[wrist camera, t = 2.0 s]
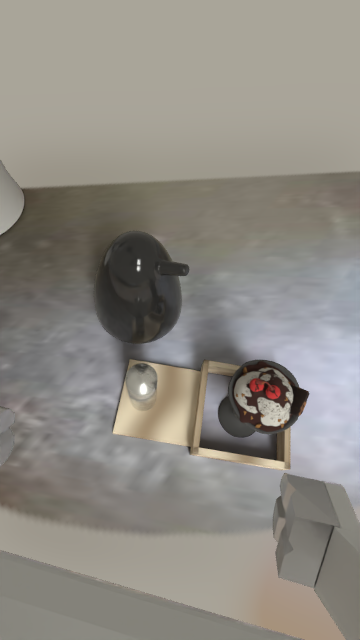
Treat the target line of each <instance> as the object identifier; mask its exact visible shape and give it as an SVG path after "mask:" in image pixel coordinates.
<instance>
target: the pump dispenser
mask: <svg viewBox="0 0 360 640" xmlns="http://www.w3.org/2000/svg"><path fill="white" fill-rule="evenodd" d="M188 273H189V266H188V265H187V264H182V263H177V262H173V261H172V259H171V257H170V255H169V254H168V252H167V250H166V249H165V248H164V246H163V245H162V244H161V243H160V242H159V241H158V240H157V239H156V238H154V237H153V236H151V235H150V234H147V233H145V232H141V231H129V232H126V233H123V234H121V235H120V236H118V237H117V238H116V239H114V240H113V241H112V242H111V244H110V245H109V246H108V248H107V249H106V251H105V253H104V254H103V256H102V259H101V261H100V263H99V266H98V269H97V273H96V277H95V284H94V303H95V310H96V314H97V317H98V320H99V322H100V323H101V325H102V327H103V328H104V329H105V330H106V331H107V332H108V333H109V334H110V335H112V336H113V337H115V338H117V339H119V340H121V341H124V342H128V343H133V344H144V343H149V342H152V341H155V340H157V339H160V338H161V337H163V336H165V335H166V334H167V333H168V332H170V331H171V330H172V328H173V327H174V326H175V324H176V323H177V321H178V319H179V316H180V313H181V307H182V294H181V286H180V281H179V277H178V276H186V275H187V274H188Z"/></svg>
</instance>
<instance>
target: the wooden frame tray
mask: <svg viewBox="0 0 360 640" xmlns="http://www.w3.org/2000/svg"><path fill="white" fill-rule="evenodd" d="M240 367H241V366H238V365H232V364H226V363H221V362H215V361H209V360H204V361H203V364H202V366H201V371H196V370H190V369H184V368H178V367H172V366H167V365H161V364H155V363H149V362H143V361H137V360H132V359H130V360H129V365H128V369H127V373H126V377H125V382H124V386H123V391H122V395H121V399H120V404H119V408H118V412H117V416H116V421H115V425H114V429H113V434H118V435H124V436H130V437H136V438H142V439H148V440H154V441H159V442H165V443H171V444H177V445H183V446H189V447H191V450H190V455H195V456H201V457H207V458H213V459H219V460H225V461H231V462H236V463H242V464H248V465H254V466H260V467H266V468H272V469H277V470H289V469H290V427H289V428H288V429H286V430H284V431H282V432H279V433H277V461H275V460H269V459H263V458H258V457H252V456H246V455H240V454H234V453H228V452H222V451H217V450H211V449H205V448H199V443H200V434H201V426H202V417H203V409H204V401H205V392H206V384H207V375H208V372H209V373H215V374H221V375H226V376H232V377H233V375H234V373H235V372H236V370H238V369H239V368H240Z"/></svg>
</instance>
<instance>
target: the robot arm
mask: <svg viewBox="0 0 360 640" xmlns="http://www.w3.org/2000/svg"><path fill="white" fill-rule="evenodd" d="M23 207H24V195H23V192H22V190H21V188H20V187H19V185H18V184H17V183H16V182H15V181H14V179H13V178H12V177H11V176H10V175H9V173H8V172H7V170H6V169H5V167H4V165H3V164H2V162H1V160H0V235H1V234H2V233H4V232H5V231H7V230H8V229H9V228H10V227H11V226H12V225H13V224H14V223H15V222H16V221H17V220H18V218H19V217H20V215H21V213H22V211H23ZM14 423H15V415H14V412H13V411H12V410H11V409H9V408H5V407H1V406H0V466H1V465H2V464H3V463H4V462H5V461H6V460H7V459H8V457H9V455H10V453H11V452H12V449H13V445H14V434H13V432H12V430H11V429H10V427H11V426H12V425H13V424H14ZM280 490H281V496H280V497H278V498H277V499H276V503H275V507H274V514H273V535H274V538H275V540H276V541H277V542H278V545H277V549H276V561H277V569H278V577H279V578H282V579H285V580H289V581H292V582H296V583H299V584H302V585H305V586H308V587H312V588H315V589H314V591H315V592H316V594H317V595H318V597H319V598H320V600H321V602H322V603H323V605H324V606H325V608H326V609H327V611H328V612H329V614H330V616H331V617H332V619H333V620H334V622H335V623H336V625H337V626H338V628H339V630H340V631H341V633H342V634H343V636H344V637H345V639H346V640H360V523H359V521H358V519H357V516H356V514H355V511H354V509H353V507H352V505H351V502H350V500H349V498H348V495H347V493H346V491H345V488H344V487H343V486H342V485H341V484H336V483H331V482H326V481H319V480H314V479H310V478H305V477H300V476H296V475H291V474H287V473H284V474H283V476H282V479H281V483H280ZM0 640H304V639H300V638H297V637H294V636H290V635H287V634H284V633H280V632H277V631H273V630H269V629H266V628H263V627H259V626H256V625H252V624H249V623H245V622H242V621H238V620H235V619H232V618H229V617H225V616H222V615H218V614H215V613H212V612H208V611H205V610H202V609H198V608H195V607H192V606H188V605H185V604H181V603H178V602H174V601H171V600H168V599H165V598H161V597H158V596H155V595H151V594H148V593H145V592H141V591H138V590H134V589H131V588H128V587H124V586H121V585H117V584H114V583H111V582H108V581H104V580H101V579H97V578H94V577H90V576H87V575H83V574H80V573H77V572H73V571H70V570H67V569H63V568H60V567H56V566H53V565H50V564H46V563H43V562H39V561H36V560H33V559H29V558H26V557H22V556H19V555H16V554H12V553H9V552H5V551H1V550H0Z"/></svg>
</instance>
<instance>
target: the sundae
mask: <svg viewBox="0 0 360 640" xmlns="http://www.w3.org/2000/svg"><path fill="white" fill-rule="evenodd" d="M228 395H229V396H228V397H226V398H225V399H224V400H223V401H222V403H221V405H220V407H219V420H220V423H221V425H222V427H223V428H224V429H225V430H226V432H228V433H229V434H231V435H233V436H235V437H247V436H250V435H252V434H253V433H254V432H255V431H257V432H259V433H263V434H275V433H279V432H282V431H284V430H286V429H288V428H289V427H290V426H292V425H293V424H294V423H295V422H296V420H297V419H298V417H299V416H300V415H301V414H302V412H303V410H304V407H305V405H306V401H307V398H308V396H309V392H308V391H306V390H304V389H301V388H299V385H298V383H297V381H296V378H295V377H294V376H293V375H292V373H291V372H290V371H289V370H287V369H286V368H285V367H283V366H281V365H280V364H277V363H275V362H272V361H267V360H253V361H249V362H246V363H245V364H244V365H242V366H241V367H240V368H239V369H238V370H236V372H235V373H234V375H233V377H232V379H231V381H230V384H229V388H228Z"/></svg>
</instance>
